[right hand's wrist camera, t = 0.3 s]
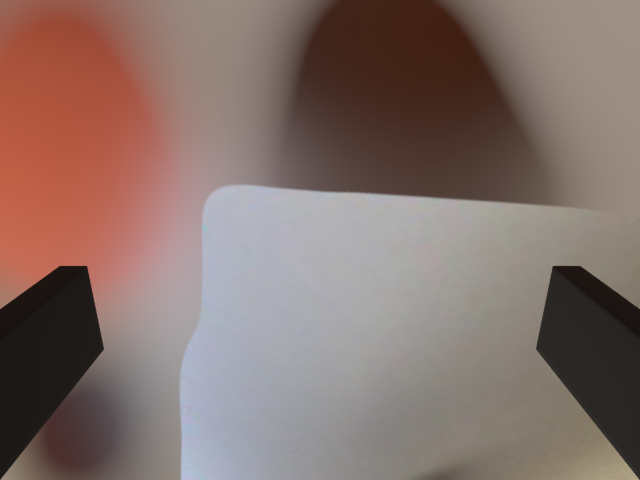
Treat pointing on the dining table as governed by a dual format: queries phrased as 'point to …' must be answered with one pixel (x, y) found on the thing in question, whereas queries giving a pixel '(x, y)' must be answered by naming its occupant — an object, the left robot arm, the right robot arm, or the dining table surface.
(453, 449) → the dining table surface
